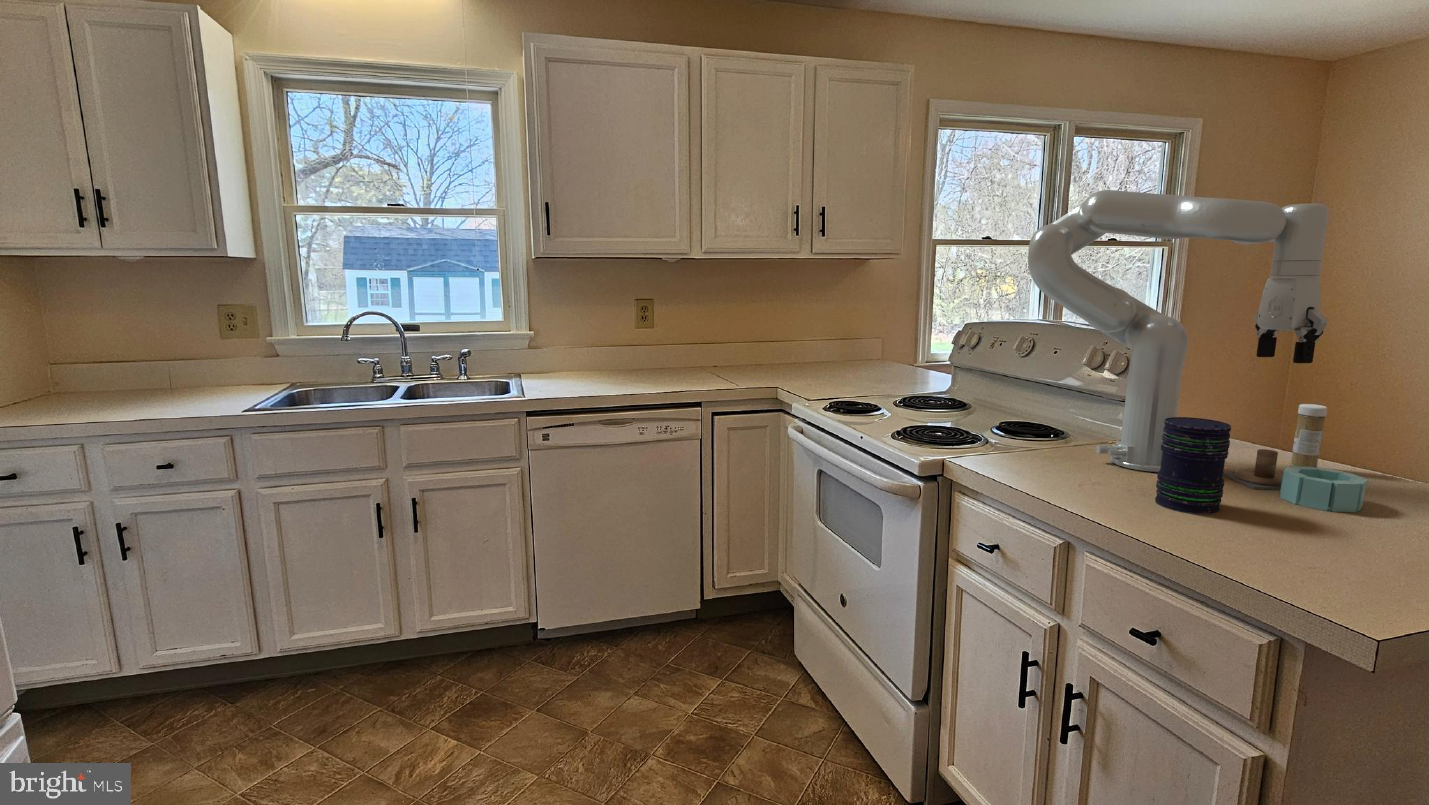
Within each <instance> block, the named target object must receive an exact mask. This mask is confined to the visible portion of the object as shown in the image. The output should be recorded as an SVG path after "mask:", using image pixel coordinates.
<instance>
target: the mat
mask: <svg viewBox="0 0 1429 805" xmlns="http://www.w3.org/2000/svg"><path fill="white" fill-rule="evenodd" d="M1235 475H1236V472H1231V471H1230V472H1228V471H1224V472H1223V477H1226V478H1229V479H1231V480H1232V481H1235V482H1237V483H1239V484H1242V485H1244V486H1245V487H1248V488H1250V489H1253V490H1277V491H1278V490H1280V489H1281V487H1274V486H1265V485H1258V484H1253V483H1249V482H1245V481H1242V480H1240V479H1238V478H1236V477H1235Z"/></svg>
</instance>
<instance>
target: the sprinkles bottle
mask: <svg viewBox="0 0 1429 805" xmlns="http://www.w3.org/2000/svg"><path fill="white" fill-rule="evenodd" d="M1297 414H1298V416H1297V422H1296V430H1295V434H1294V439H1293V447H1292V453H1291V454H1292V455H1291V462H1290V464H1289V467H1291V466H1303V467H1315V468H1317V467H1318V461H1319V455H1320V452H1321V447H1322V441H1323V440H1322V439H1323V435H1324V426H1325V421H1326V420H1325V419H1326V416H1327V414H1328V407H1327V406H1325V405H1321V404H1320V405H1319V404H1313V403H1302V404H1299V405H1298V410H1297Z"/></svg>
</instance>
